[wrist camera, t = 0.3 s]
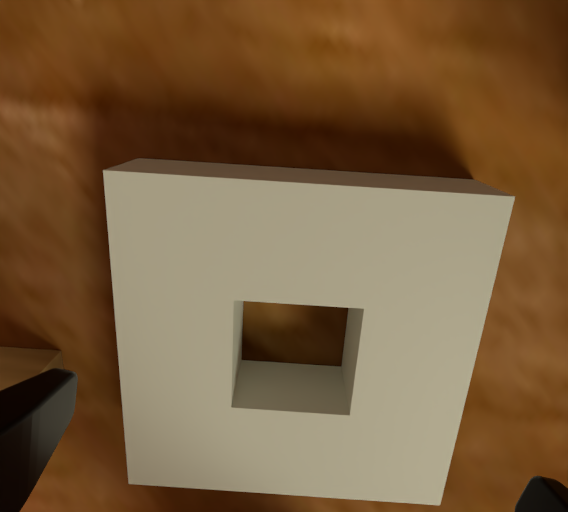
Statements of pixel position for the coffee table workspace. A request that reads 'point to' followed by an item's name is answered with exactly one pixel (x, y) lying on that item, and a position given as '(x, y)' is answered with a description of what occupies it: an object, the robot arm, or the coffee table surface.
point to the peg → (26, 364)
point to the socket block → (304, 291)
